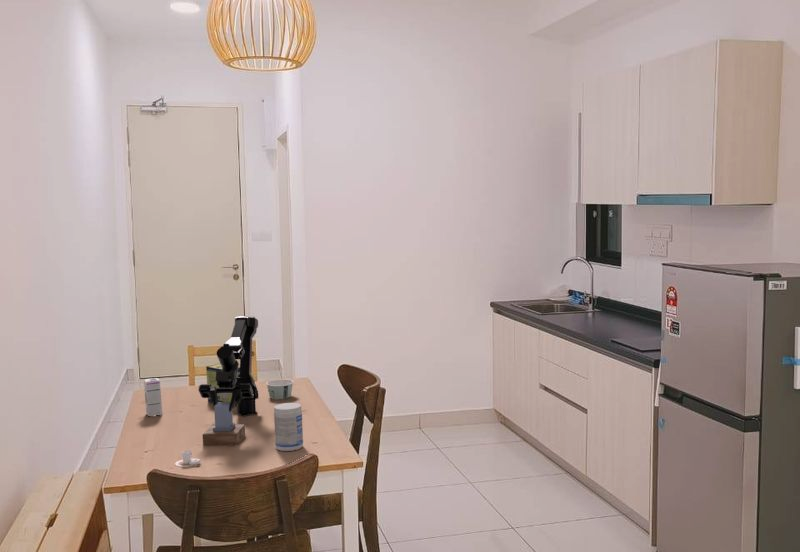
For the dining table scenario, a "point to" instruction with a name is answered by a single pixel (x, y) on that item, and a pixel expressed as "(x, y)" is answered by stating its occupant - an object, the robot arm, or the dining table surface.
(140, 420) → the dining table surface
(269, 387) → the food container
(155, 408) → the syrup box
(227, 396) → the protein box
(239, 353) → the robot arm
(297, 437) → the supplement tub
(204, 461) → the dining table surface
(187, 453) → the teacup and saucer
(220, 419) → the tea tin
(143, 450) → the dining table surface
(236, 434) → the stack block
